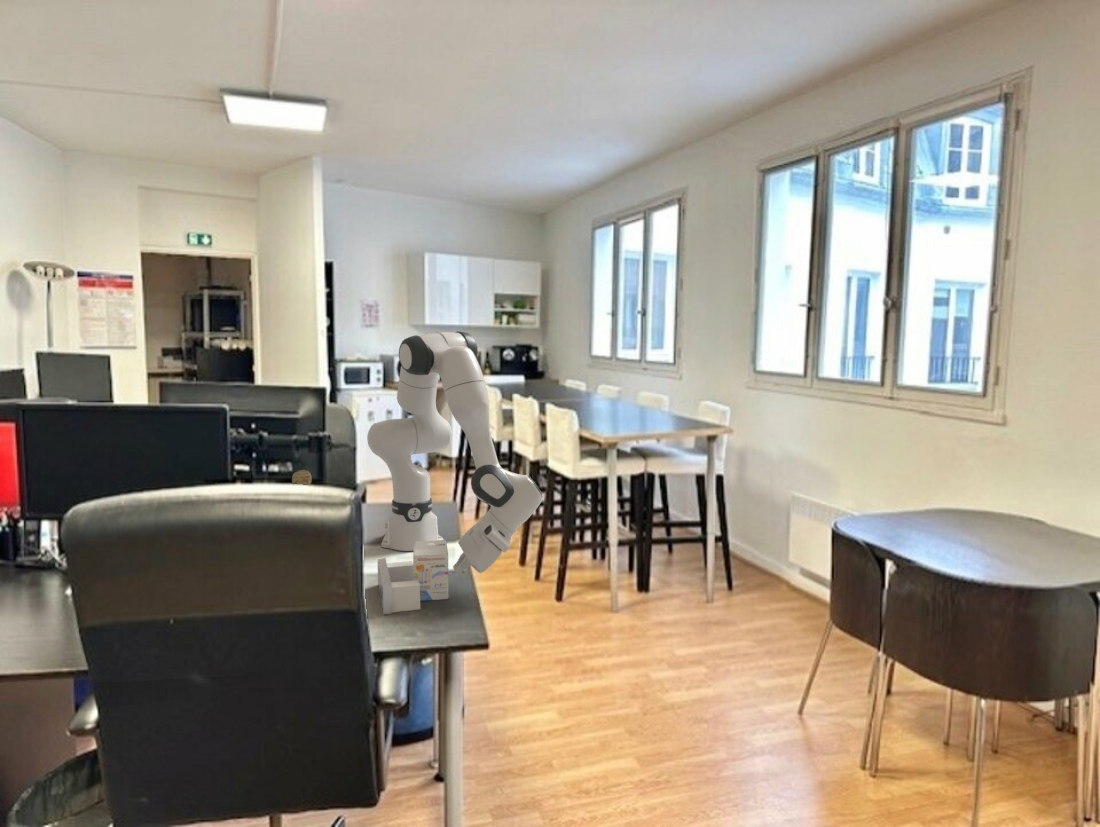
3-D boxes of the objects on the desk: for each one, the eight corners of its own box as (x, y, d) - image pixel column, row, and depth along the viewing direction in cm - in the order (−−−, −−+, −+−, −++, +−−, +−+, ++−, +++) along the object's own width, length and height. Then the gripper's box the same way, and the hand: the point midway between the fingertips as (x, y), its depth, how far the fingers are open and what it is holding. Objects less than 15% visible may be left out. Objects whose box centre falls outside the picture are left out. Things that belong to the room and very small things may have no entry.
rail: (378, 585, 187) (377, 558, 186) (386, 584, 188) (385, 558, 187) (383, 614, 168) (382, 586, 167) (392, 613, 169) (391, 585, 168)
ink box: (413, 601, 176) (412, 548, 175) (413, 589, 184) (412, 538, 183) (449, 599, 178) (448, 546, 176) (447, 587, 186) (446, 536, 184)
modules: (386, 585, 187) (385, 563, 186) (412, 583, 189) (411, 560, 188) (392, 612, 170) (391, 587, 169) (420, 609, 172) (419, 585, 171)
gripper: (476, 512, 193) (440, 550, 191) (493, 534, 174) (453, 577, 172) (493, 527, 195) (457, 565, 193) (511, 550, 175) (471, 593, 174)
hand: (455, 571), depth 182 cm, fingers closed
